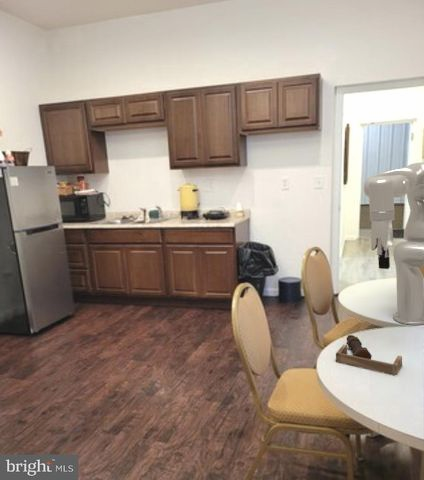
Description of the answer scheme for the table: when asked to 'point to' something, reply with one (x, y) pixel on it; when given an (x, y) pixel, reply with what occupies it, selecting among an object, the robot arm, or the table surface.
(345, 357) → the bracket
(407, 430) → the table surface
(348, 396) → the table surface
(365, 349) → the bolt
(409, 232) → the robot arm
